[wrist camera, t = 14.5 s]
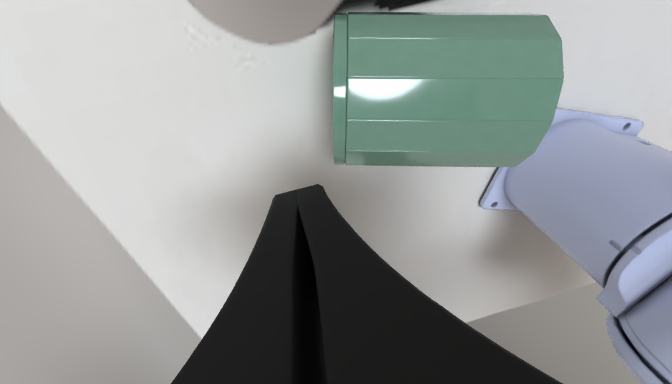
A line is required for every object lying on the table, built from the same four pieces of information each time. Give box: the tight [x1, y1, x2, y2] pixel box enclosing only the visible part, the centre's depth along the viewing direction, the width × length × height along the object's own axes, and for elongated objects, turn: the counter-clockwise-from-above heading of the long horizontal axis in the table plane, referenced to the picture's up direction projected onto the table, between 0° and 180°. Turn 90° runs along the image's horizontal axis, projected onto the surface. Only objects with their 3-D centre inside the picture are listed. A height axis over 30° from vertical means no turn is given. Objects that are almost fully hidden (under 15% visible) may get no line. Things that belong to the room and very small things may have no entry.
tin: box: [332, 12, 564, 167], centre depth 14 cm, size 6×6×8 cm
